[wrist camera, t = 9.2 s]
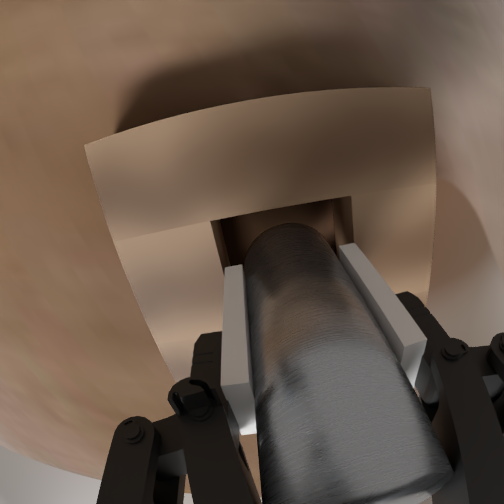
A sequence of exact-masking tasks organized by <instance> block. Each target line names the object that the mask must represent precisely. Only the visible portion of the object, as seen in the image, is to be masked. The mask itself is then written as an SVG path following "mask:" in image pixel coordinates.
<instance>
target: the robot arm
mask: <svg viewBox="0 0 504 504" xmlns="http://www.w3.org/2000/svg"><path fill="white" fill-rule="evenodd" d="M339 257H340V262H341V264H342V266H343V267H344V269H345V270H346V272H347V274H348V275H349V277H350V278H351V280H352V282H353V283H354V285H355V286H356V288H357V290H358V291H359V293H360V295H361V296H362V298H363V300H364V301H365V303H366V305H367V306H368V308H369V310H370V311H371V313H372V315H373V316H374V318H375V320H376V321H377V323H378V325H379V327H380V328H381V330H382V332H383V334H384V335H385V337H386V339H387V341H388V342H389V344H390V346H391V348H392V350H393V351H394V353H395V355H396V357H397V359H398V360H399V362H400V364H401V366H402V368H403V370H404V371H405V373H406V375H407V377H408V379H409V381H410V383H411V385H412V386H413V388H414V387H415V386H416V388H417V390H418V392H419V397H418V398H419V400H420V402H421V404H422V406H423V408H424V410H425V412H426V414H427V416H428V418H429V420H430V422H431V424H432V426H433V428H434V430H435V432H436V434H437V436H438V439H439V441H440V443H441V445H442V447H443V449H444V451H445V454H446V456H447V458H448V460H449V463H450V465H451V467H452V469H453V472H454V475H453V476H452V477H451V478H450V479H449V480H448V481H447V482H446V483H445V484H444V485H443V487H442V488H441V489H440V490H439V491H437V492H436V493H435V494H433V495H432V502H433V504H504V333H499V334H497V335H495V336H494V337H493V339H492V341H491V344H490V345H489V346H480V347H468V345H467V344H466V343H465V342H463V341H462V340H459V339H456V338H450V337H449V336H448V335H447V333H446V332H445V331H444V329H443V328H442V327H441V325H440V324H439V323H438V321H437V320H436V319H435V318H434V316H433V315H432V314H430V311H429V310H428V309H427V308H426V307H425V305H424V304H423V303H422V301H421V300H420V299H419V298H418V297H417V296H415V295H414V294H412V293H410V292H408V291H405V292H402V293H398V294H394V292H393V291H392V290H391V288H390V287H389V286H388V284H387V283H386V282H385V280H384V279H383V278H382V277H381V275H380V274H379V273H378V271H377V270H376V269H375V268H374V266H373V265H372V264H371V262H370V261H369V260H368V259H367V257H366V256H365V255H364V254H363V252H362V251H361V250H360V249H359V247H358V246H357V245H356V244H355V243H351V244H346V245H341V246H339ZM168 401H169V403H170V405H171V406H172V408H173V409H174V411H175V413H176V414H174V415H172V416H170V417H168V418H165V419H162V420H159V421H156V422H153V423H152V422H151V421H150V420H148V419H147V418H145V417H140V416H135V417H130V418H128V419H126V420H124V421H122V422H121V423H120V424H119V425H118V426H117V428H116V430H115V432H114V436H113V439H112V443H111V447H110V450H109V454H108V458H107V462H106V466H105V469H104V473H103V477H102V482H101V486H100V490H99V494H98V499H97V503H96V504H183V499H184V488H185V477H186V474H188V478H189V484H190V489H191V493H192V498H193V503H194V504H262V503H261V500H260V497H259V494H258V491H257V489H256V486H255V483H254V480H253V477H252V474H251V471H250V468H249V466H248V463H247V460H246V457H245V454H244V451H243V447H242V445H241V443H240V441H239V430H240V432H241V435H246V434H254V433H257V431H256V419H255V398H254V385H253V372H252V359H251V345H250V332H249V318H248V304H247V290H246V280H245V275H244V271H243V266H242V264H241V265H236V266H230V267H225V276H224V298H223V323H222V331H218V332H211V333H204V334H201V335H200V336H199V338H198V339H197V341H196V342H195V344H194V350H193V358H192V366H191V373H190V377H187V378H185V379H182V380H180V381H178V382H177V383H176V384H175V385H174V386H173V387H172V388H171V390H170V391H169V394H168Z"/></svg>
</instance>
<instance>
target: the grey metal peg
mask: <svg viewBox="0 0 504 504" xmlns="http://www.w3.org/2000/svg"><path fill="white" fill-rule="evenodd" d="M245 280H246V290H247V304H248V318H249V332H250V345H251V359H252V372H253V385H254V398H255V419H256V431H257V444H258V456H259V469H260V481H261V493H262V504H419V503H420V502H422V501H424V500H426V499H427V498H429V497H430V496H432V495H433V494H435V493H436V492H437V491H439V490H440V489H441V488H442V487H443V485H444V484H445V483H446V482H447V481H448V480H449V479H450V478H451V477H452V476H453V475H454V472H453V469H452V467H451V465H450V463H449V460H448V458H447V456H446V454H445V451H444V449H443V447H442V445H441V443H440V441H439V439H438V436H437V434H436V432H435V430H434V428H433V426H432V424H431V422H430V420H429V418H428V416H427V414H426V412H425V410H424V408H423V406H422V404H421V402H420V400H419V398H418V396H417V394H416V392H415V390H414V388H413V386H412V385H411V383H410V381H409V379H408V377H407V375H406V373H405V371H404V370H403V368H402V366H401V364H400V362H399V360H398V359H397V357H396V355H395V353H394V351H393V350H392V348H391V346H390V344H389V342H388V341H387V339H386V337H385V335H384V334H383V332H382V330H381V328H380V327H379V325H378V323H377V321H376V320H375V318H374V316H373V315H372V313H371V311H370V310H369V308H368V306H367V305H366V303H365V301H364V300H363V298H362V296H361V295H360V293H359V291H358V290H357V288H356V286H355V285H354V283H353V282H352V280H351V278H350V277H349V275H348V274H347V272H346V270H345V269H344V267H343V266H342V264H341V262H340V261H339V259H338V258H337V256H336V255H335V253H334V252H333V250H332V248H331V247H330V245H329V244H328V242H327V241H326V239H325V238H324V237H323V236H322V235H321V234H320V233H319V232H318V231H317V230H315V229H313V228H312V227H309V226H307V225H303V224H298V223H286V224H281V225H277V226H274V227H272V228H270V229H268V230H266V231H264V232H263V233H262V234H260V235H259V236H258V237H257V238H256V239H255V240H254V241H253V243H252V244H251V246H250V247H249V249H248V251H247V254H246V257H245Z"/></svg>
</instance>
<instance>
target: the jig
mask: <svg viewBox="0 0 504 504" xmlns="http://www.w3.org/2000/svg"><path fill="white" fill-rule="evenodd" d="M84 148H85V152H86V155H87V159H88V163H89V167H90V170H91V174H92V177H93V181H94V184H95V187H96V191H97V194H98V197H99V200H100V204H101V207H102V210H103V213H104V216H105V219H106V222H107V225H108V228H109V231H110V233H111V236H112V239H113V242H114V245H115V247H116V250H117V253H118V255H119V258H120V261H121V263H122V266H123V268H124V271H125V274H126V276H127V279H128V281H129V283H130V286H131V288H132V291H133V293H134V295H135V298H136V300H137V302H138V305H139V307H140V309H141V312H142V314H143V316H144V318H145V321H146V323H147V325H148V327H149V329H150V331H151V334H152V336H153V338H154V340H155V342H156V344H157V346H158V348H159V350H160V352H161V354H162V356H163V358H164V360H165V362H166V364H167V366H168V368H169V370H170V372H171V374H172V376H173V378H174V380H175V381H176V383H177V382H178V381H180V380H182V379H185V378H187V377H190V373H191V366H192V358H193V350H194V344H195V342H196V341H197V339H198V338H199V336H200V335H201V334H204V333H211V332H218V331H222V323H223V298H224V276H225V267H230V266H231V265H230V261H229V257H228V253H227V249H226V244H225V240H224V236H223V232H222V228H221V223H220V219H223V218H228V217H233V216H238V215H243V214H248V213H254V212H259V211H264V210H270V209H275V208H281V207H286V206H292V205H298V204H303V203H309V202H315V201H321V200H327V199H332V207H333V218H334V230H335V243H336V256H337V258H338V259H339V261H340V257H339V246H341V245H346V244H351V243H355V244H356V245H357V246H358V247H359V249H360V250H361V251H362V252H363V254H364V255H365V256H366V257H367V259H368V260H369V261H370V262H371V264H372V265H373V266H374V268H375V269H376V270H377V271H378V273H379V274H380V275H381V277H382V278H383V279H384V280H385V282H386V283H387V284H388V286H389V287H390V288H391V290H392V291H393V292H394V294H398V293H402V292H405V291H408V292H410V293H412V294H414V295H415V296H417V297H418V298H419V299H420V300H421V301H422V303H423V304H424V305H425V307H426V302H427V296H428V290H429V282H430V275H431V266H432V257H433V246H434V232H435V215H436V148H435V131H434V118H433V108H432V99H431V90H430V88H422V87H369V88H348V89H333V90H321V91H311V92H301V93H293V94H285V95H278V96H271V97H264V98H258V99H252V100H246V101H241V102H235V103H230V104H225V105H220V106H215V107H211V108H206V109H202V110H198V111H193V112H189V113H185V114H181V115H177V116H173V117H170V118H166V119H162V120H159V121H155V122H152V123H148V124H145V125H142V126H138V127H135V128H132V129H129V130H126V131H123V132H119V133H116V134H114V135H111V136H108V137H105V138H102V139H99V140H96V141H94V142H91V143H88V144H86V145H84Z"/></svg>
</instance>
